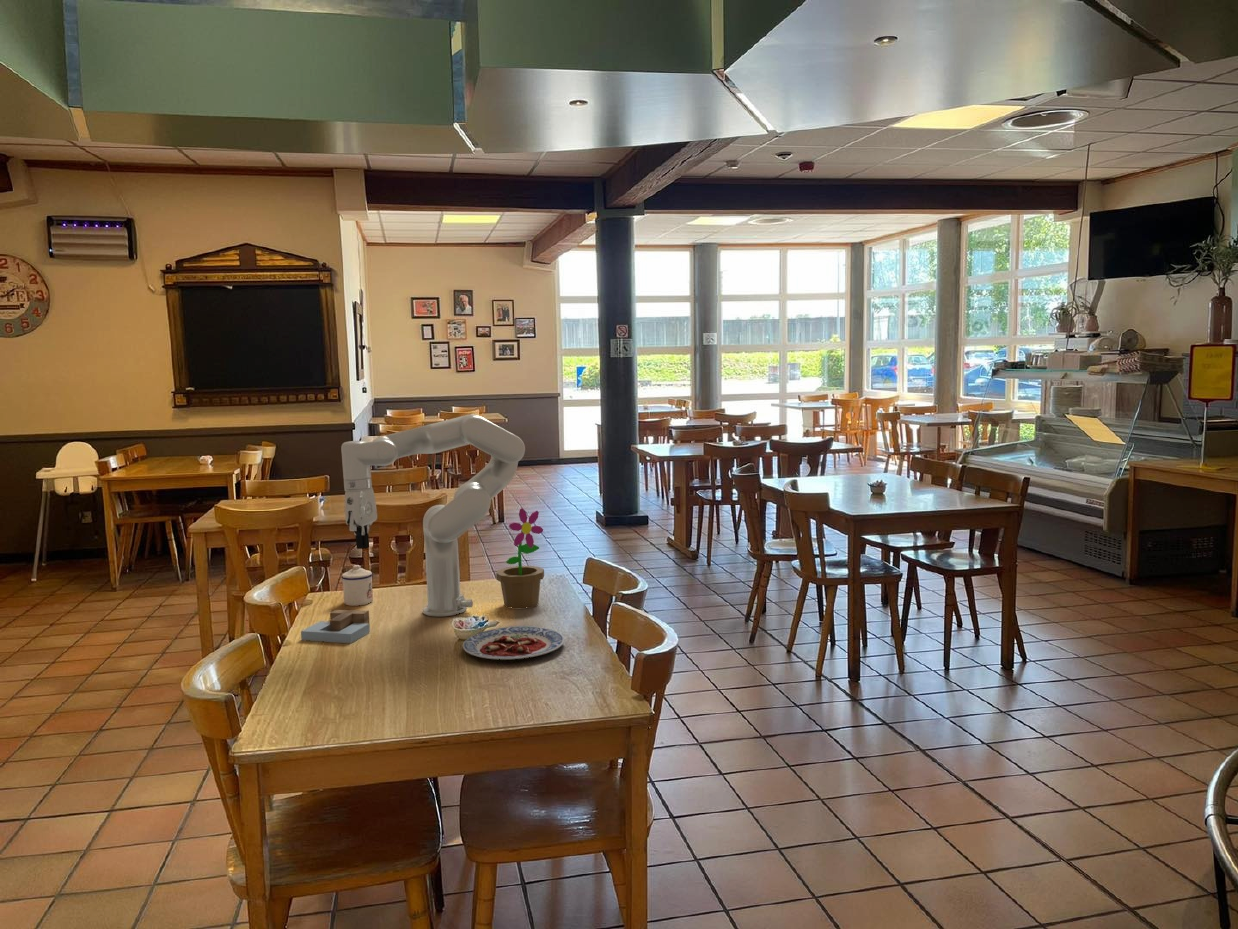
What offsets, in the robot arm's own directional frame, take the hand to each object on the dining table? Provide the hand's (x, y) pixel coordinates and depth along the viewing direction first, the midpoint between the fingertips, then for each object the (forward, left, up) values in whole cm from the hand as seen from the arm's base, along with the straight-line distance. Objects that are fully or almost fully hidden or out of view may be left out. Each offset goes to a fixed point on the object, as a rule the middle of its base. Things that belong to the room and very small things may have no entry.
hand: (363, 548), depth 258 cm
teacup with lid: (+13, -18, -21) cm, 31 cm away
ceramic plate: (-52, +17, -22) cm, 59 cm away
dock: (0, +15, -21) cm, 26 cm away
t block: (0, +13, -21) cm, 25 cm away
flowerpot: (-39, -23, -21) cm, 50 cm away
